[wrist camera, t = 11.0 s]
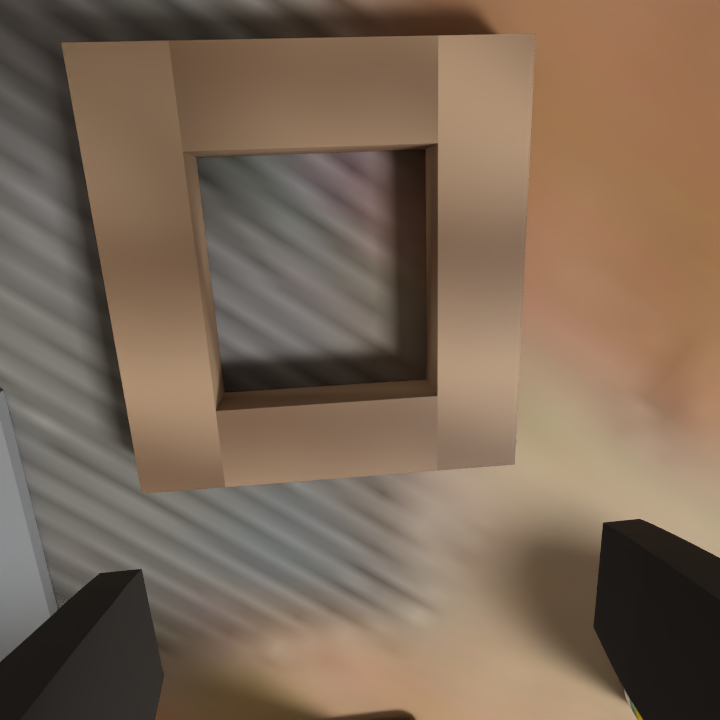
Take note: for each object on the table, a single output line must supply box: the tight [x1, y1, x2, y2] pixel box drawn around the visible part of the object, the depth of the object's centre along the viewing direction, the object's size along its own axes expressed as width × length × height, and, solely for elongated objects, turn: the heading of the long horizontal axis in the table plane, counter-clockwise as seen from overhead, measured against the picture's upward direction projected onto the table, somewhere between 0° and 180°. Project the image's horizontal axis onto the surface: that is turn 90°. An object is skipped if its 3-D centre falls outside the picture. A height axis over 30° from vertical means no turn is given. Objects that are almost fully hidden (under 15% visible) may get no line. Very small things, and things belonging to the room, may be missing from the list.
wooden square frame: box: [61, 34, 536, 494], centre depth 15 cm, size 12×12×2 cm
